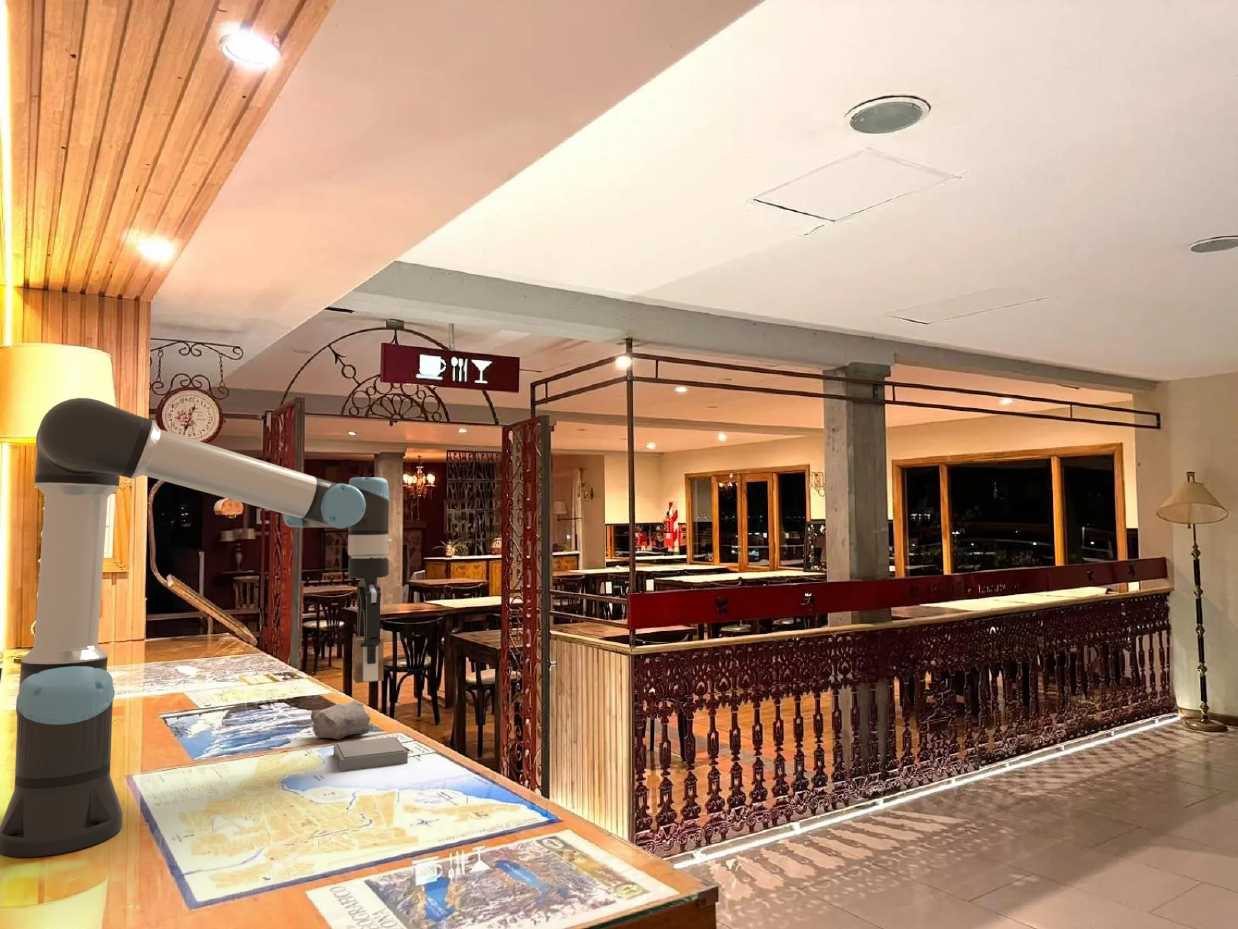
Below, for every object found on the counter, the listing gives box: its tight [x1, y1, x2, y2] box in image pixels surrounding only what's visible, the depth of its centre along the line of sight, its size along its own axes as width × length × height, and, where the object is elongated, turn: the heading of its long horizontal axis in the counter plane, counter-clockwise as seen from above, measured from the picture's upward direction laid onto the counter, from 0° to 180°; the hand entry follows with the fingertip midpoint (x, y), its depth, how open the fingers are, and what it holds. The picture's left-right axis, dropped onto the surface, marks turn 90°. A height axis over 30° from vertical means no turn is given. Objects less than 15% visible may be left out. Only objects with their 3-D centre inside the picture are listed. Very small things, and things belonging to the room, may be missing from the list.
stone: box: [310, 700, 375, 740], centre depth 177 cm, size 8×12×7 cm, turn 125°
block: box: [352, 635, 385, 684], centre depth 162 cm, size 5×5×8 cm
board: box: [333, 736, 409, 771], centre depth 161 cm, size 12×12×2 cm
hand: (368, 677), depth 162 cm, fingers closed on block, 5 cm apart
